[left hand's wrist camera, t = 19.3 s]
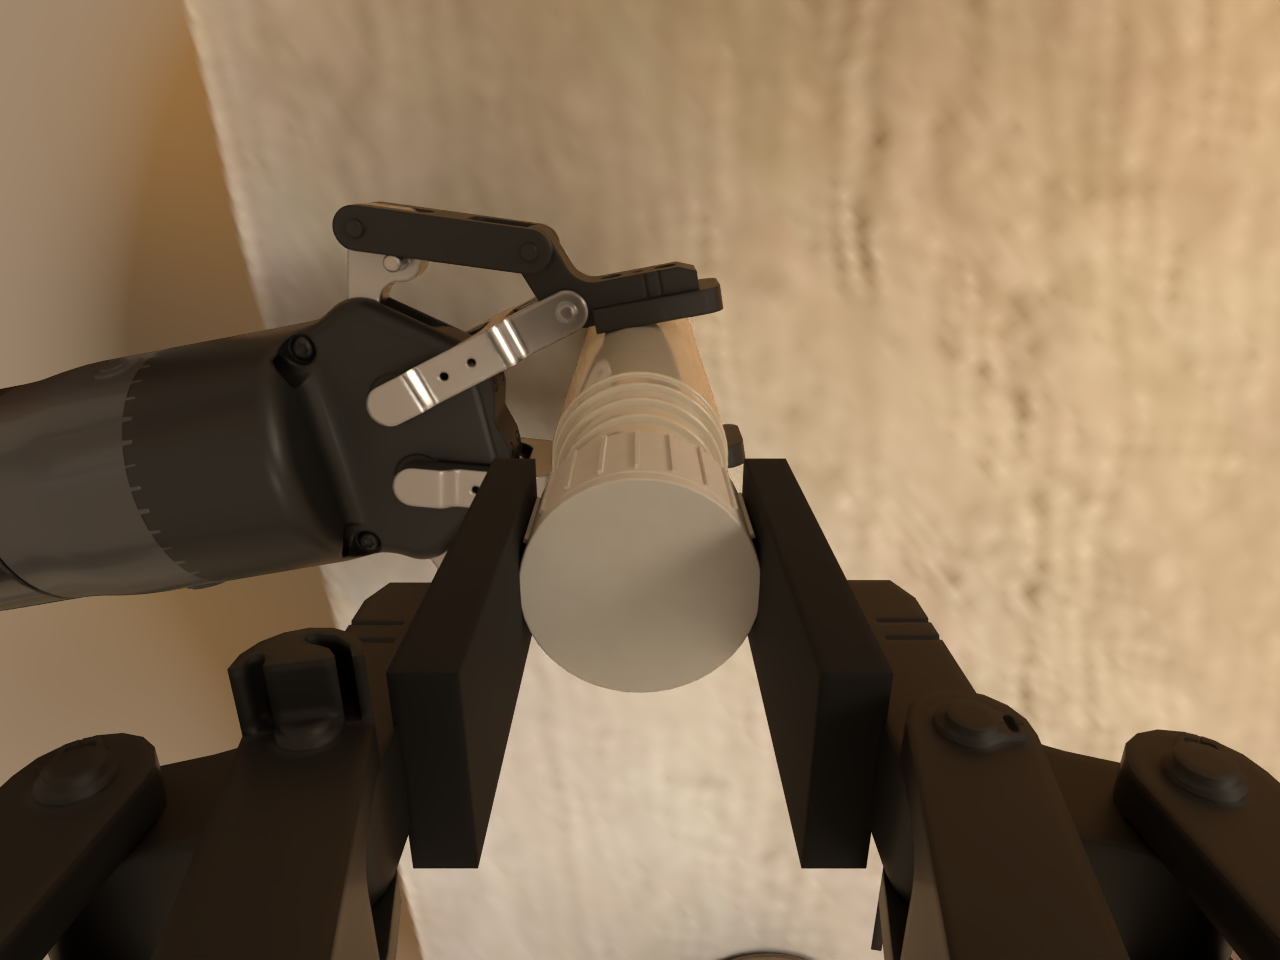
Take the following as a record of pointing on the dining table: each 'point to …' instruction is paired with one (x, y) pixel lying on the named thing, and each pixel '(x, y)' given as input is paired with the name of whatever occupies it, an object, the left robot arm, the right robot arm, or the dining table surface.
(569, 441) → the bottle
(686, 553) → the cap
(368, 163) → the dining table surface
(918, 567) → the dining table surface
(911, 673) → the left robot arm
